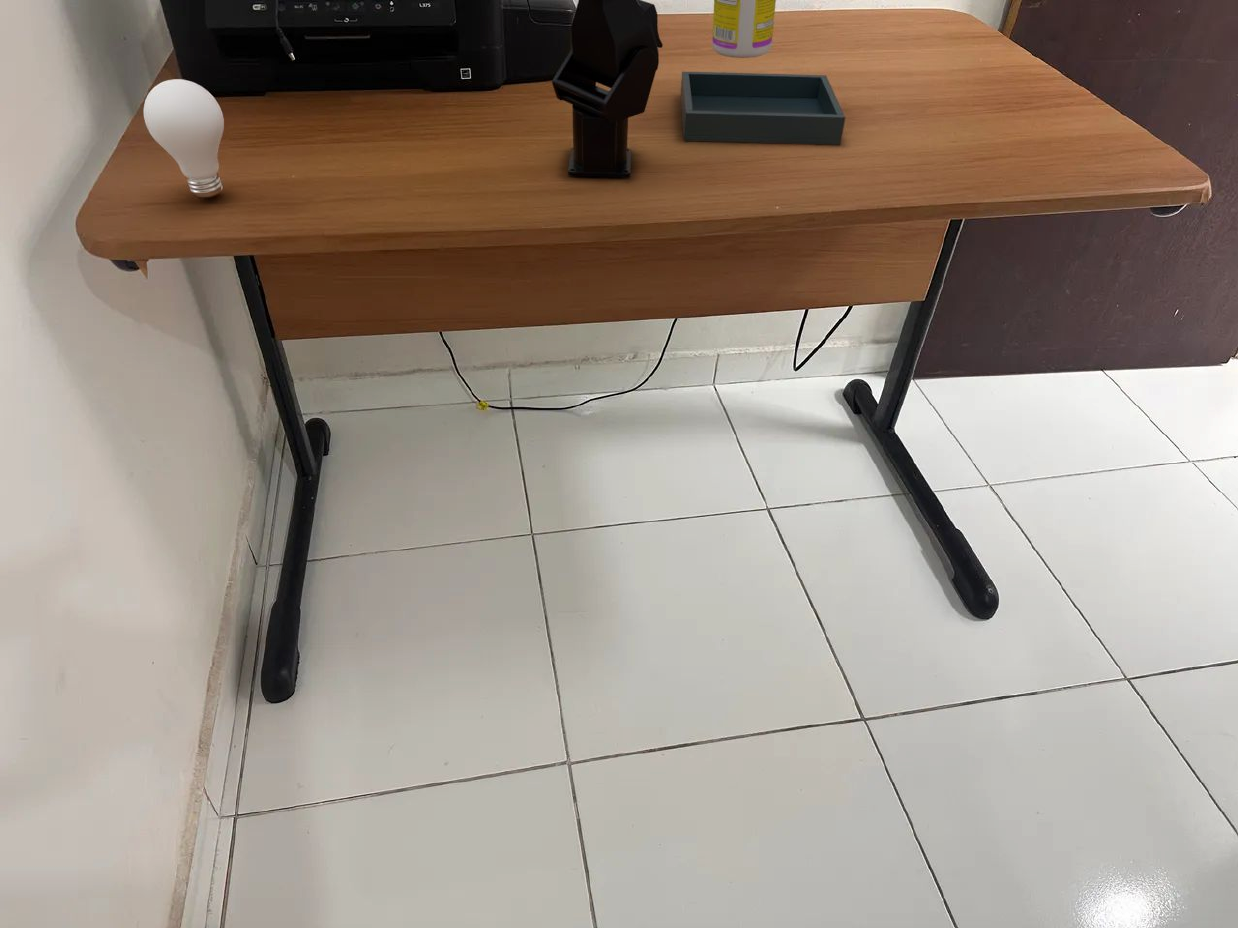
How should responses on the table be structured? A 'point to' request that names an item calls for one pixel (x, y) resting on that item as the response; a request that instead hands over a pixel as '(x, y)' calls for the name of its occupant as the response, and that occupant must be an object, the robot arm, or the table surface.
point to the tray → (760, 108)
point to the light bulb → (188, 131)
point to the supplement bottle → (743, 27)
